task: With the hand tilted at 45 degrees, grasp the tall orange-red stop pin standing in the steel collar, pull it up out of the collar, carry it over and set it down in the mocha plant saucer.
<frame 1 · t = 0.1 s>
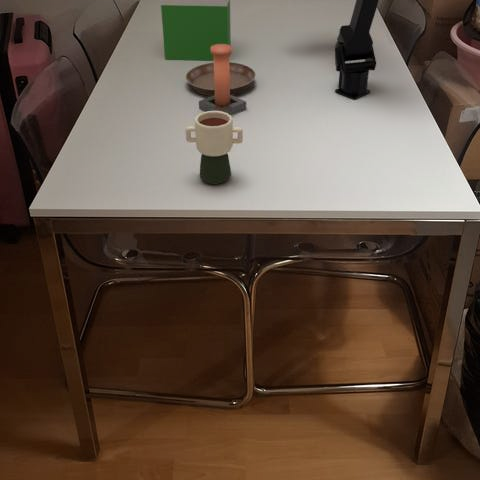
hardback book: (198, 56, 182), on the table
cream and green cup: (215, 179, 129), on the table
collar: (222, 109, 154), on the table
stop pin: (221, 79, 150), in the collar
plant saucer: (220, 86, 166), on the table, touching collar
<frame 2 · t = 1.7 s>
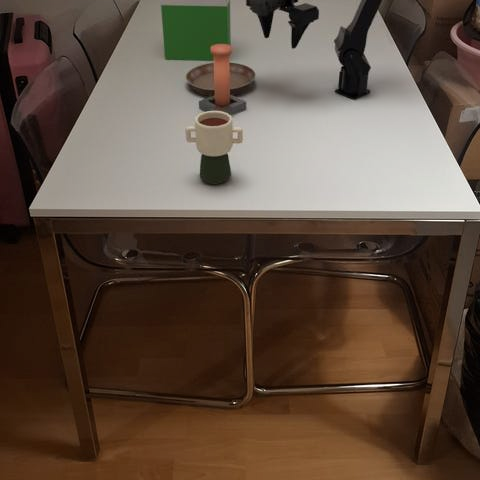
hand: (280, 43, 153), 13 cm above the table, tool pointing down, fingers open, 9 cm apart
nothing on the table moved.
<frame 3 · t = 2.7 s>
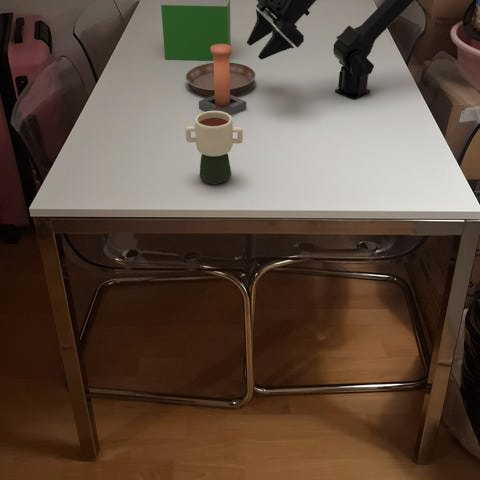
hand: (253, 51, 148), 13 cm above the table, tool tilted 45°, fingers open, 9 cm apart
nothing on the table moved.
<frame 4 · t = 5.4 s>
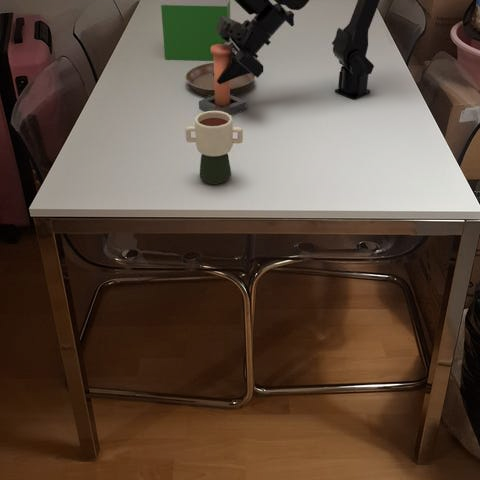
hand: (216, 79, 149), 8 cm above the table, tool tilted 45°, fingers closed on stop pin, 4 cm apart
stop pin: (221, 79, 150), in the collar, touching gripper
plant saucer: (220, 86, 166), on the table
everything else where it was.
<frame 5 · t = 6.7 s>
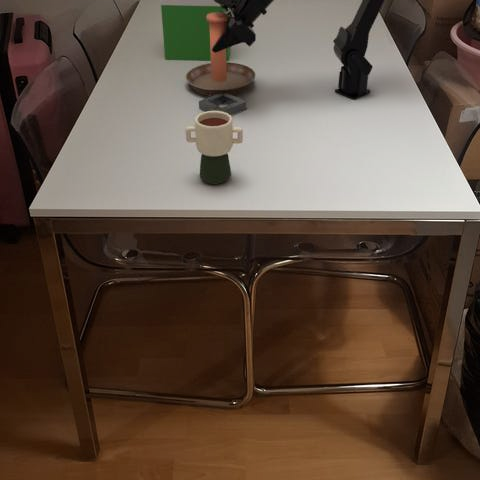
hand: (212, 48, 149), 13 cm above the table, tool tilted 45°, fingers closed on stop pin, 4 cm apart
stop pin: (218, 48, 149), point 13 cm above the table, touching gripper
plant saucer: (220, 86, 166), on the table, touching collar
everything else where it was.
when the fingers open (11 cm above the table, at t = 8.2 s): stop pin stays where it is, resting on plant saucer.
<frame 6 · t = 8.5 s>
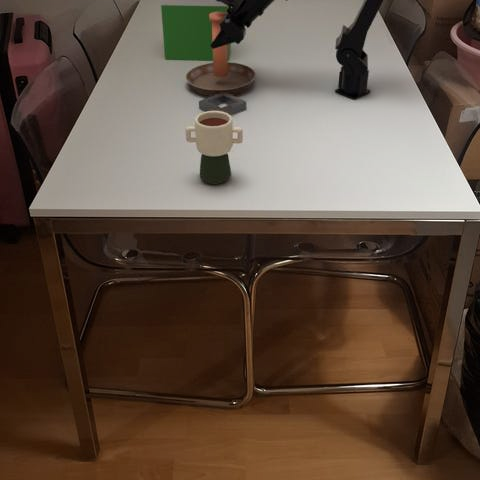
hand: (214, 42, 159), 11 cm above the table, tool tilted 45°, fingers open, 6 cm apart
stop pin: (219, 45, 159), point 10 cm above the table, touching plant saucer
plant saucer: (220, 86, 166), on the table, touching stop pin
everything else where it was.
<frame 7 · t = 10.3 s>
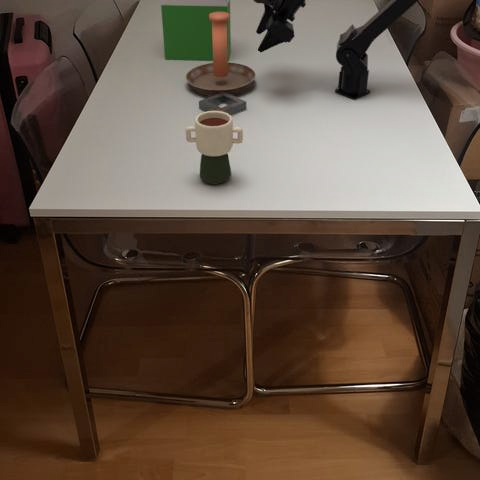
hand: (258, 42, 158), 12 cm above the table, tool tilted 35°, fingers open, 9 cm apart
plant saucer: (220, 86, 166), on the table, touching collar, stop pin
everything else where it was.
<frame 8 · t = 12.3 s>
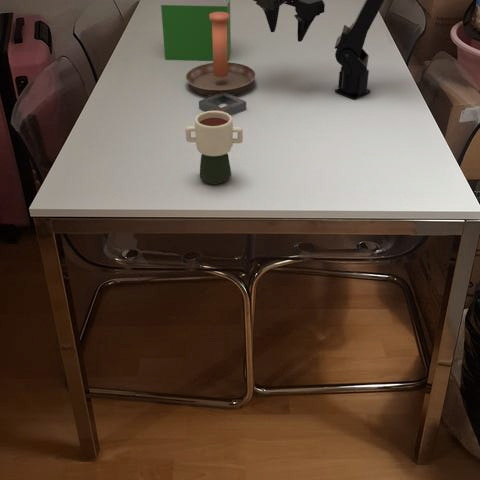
hand: (286, 36, 157), 13 cm above the table, tool pointing down, fingers open, 9 cm apart
nothing on the table moved.
at the end: stop pin 0.1 cm from the plant saucer (horizontally); stop pin point 10.4 cm above the table; the gripper is holding nothing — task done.
